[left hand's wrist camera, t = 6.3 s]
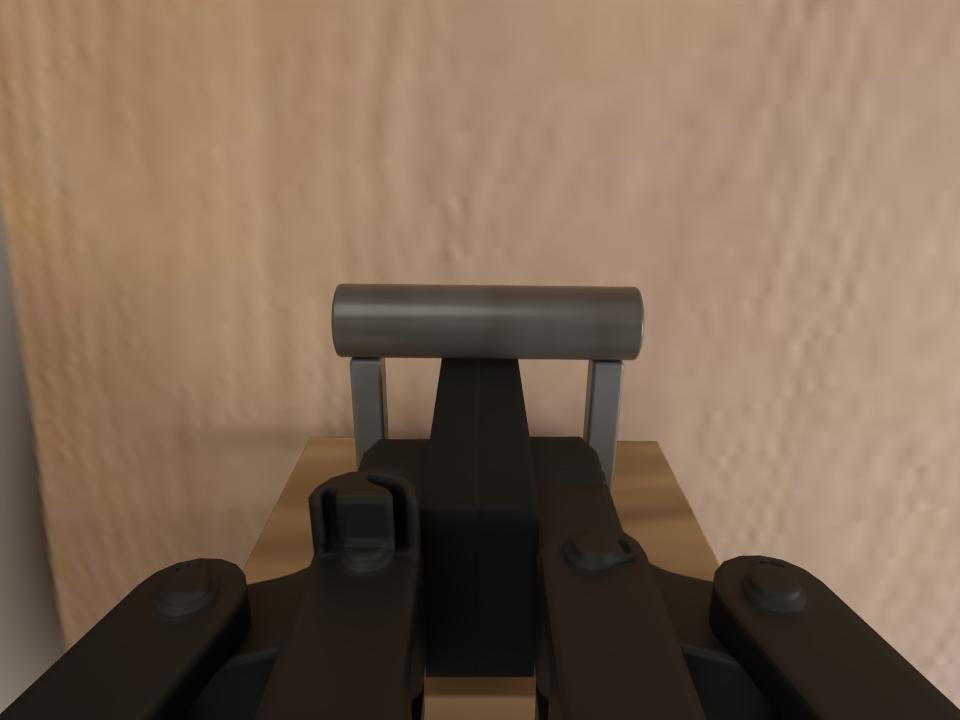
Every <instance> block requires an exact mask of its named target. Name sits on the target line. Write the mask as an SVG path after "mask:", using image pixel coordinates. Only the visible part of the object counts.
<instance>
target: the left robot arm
mask: <svg viewBox="0 0 960 720" xmlns="http://www.w3.org/2000/svg"><path fill="white" fill-rule="evenodd" d="M308 502H309V512H310V521H311V530H312V540H313V549H314V556H313V558H312V561H311V564H310V566H309V567H306V568H304V569H302V570H300V571H298V572H296V573H293V574H289V575H286V576H283V577H279V578H275V579H270V580H266V581H261V582H256V583H252V584H247V582H246V575H245V574H244V573H243V571H242V570H241V569H240V568H239V567H238V566H237V565H236V564H233V563H231V562H228V561H225V560H222V559H204V558H200V559H195V560H190V561H185V562H180V563H177V564H174V565H172V566H170V567H167V568H165V569H163V570H160V571H158V572H156V573H154V574H153V575H152V576H150V577H149V578H147V579H146V580H145V581H143V582H142V583H140V584H139V585H138V586H137V587H136V588H135V589H133V590H132V591H131V592H130V593H129V594H128V595H127V596H126V597H125V598H124V599H123V600H122V601H121V602H120V603H119V604H117V605H116V606H115V607H114V608H113V609H112V610H111V611H110V612H109V613H108V614H107V615H106V616H105V617H104V618H102V619H101V620H100V621H99V622H98V623H97V624H96V625H95V626H94V627H93V628H92V629H91V630H90V631H89V632H88V633H86V634H85V635H84V636H83V637H82V638H81V639H80V640H79V641H78V642H77V643H76V644H75V645H74V646H73V647H71V648H70V649H69V650H68V651H67V652H66V653H65V654H64V655H63V656H62V657H61V658H60V659H59V660H58V661H57V662H55V663H54V664H53V665H52V666H51V667H50V668H49V669H48V670H47V671H46V672H45V673H44V674H43V675H42V676H41V677H40V678H38V679H37V680H36V681H35V682H34V683H33V684H32V685H31V686H30V687H29V688H28V689H27V690H26V691H25V692H23V693H22V694H21V695H20V696H19V697H18V698H17V699H16V700H15V701H14V702H13V703H12V704H11V705H10V706H8V707H7V708H6V709H5V710H4V711H3V712H2V713H1V714H0V720H424V717H425V697H424V675H425V665H426V677H534V664H535V674H536V697H535V720H960V709H958V708H957V707H956V706H955V705H954V704H953V703H952V702H951V701H950V700H949V699H948V698H947V697H946V696H944V695H943V694H942V693H941V692H940V691H939V690H938V689H937V688H936V687H935V686H934V685H933V684H932V683H930V682H929V681H928V680H927V679H926V678H925V677H924V676H923V675H922V674H921V673H920V672H919V671H918V670H916V669H915V668H914V667H913V666H912V665H911V664H910V663H909V662H908V661H907V660H906V659H905V658H904V657H902V656H901V655H900V654H899V653H898V652H897V651H896V650H895V649H894V648H893V647H892V646H891V645H890V644H888V643H887V642H886V641H885V640H884V639H883V638H882V637H881V636H880V635H879V634H878V633H877V632H876V631H874V630H873V629H872V628H871V627H870V626H869V625H868V624H867V623H866V622H865V621H864V620H863V619H862V618H860V617H859V616H858V615H857V614H856V613H855V612H854V611H853V610H852V609H851V608H850V607H849V606H848V605H846V604H845V603H844V602H843V601H842V600H841V599H840V598H839V597H838V596H837V595H836V594H835V593H834V592H832V591H831V590H830V589H829V588H828V587H827V586H826V585H825V584H824V583H823V582H822V581H820V580H819V579H817V578H816V577H814V576H813V575H812V574H810V573H809V572H807V571H806V570H805V569H803V568H800V567H798V566H795V565H793V564H791V563H788V562H786V561H784V560H780V559H775V558H770V557H765V556H738V557H736V558H733V559H730V560H727V561H724V562H723V563H722V564H721V565H720V567H719V568H718V569H717V570H716V571H715V574H714V581H713V582H712V581H707V580H703V579H698V578H693V577H689V576H684V575H680V574H677V573H673V572H670V571H666V570H664V569H662V568H659V567H657V566H655V565H653V564H651V563H649V560H648V557H647V555H646V553H645V551H644V550H643V548H642V547H641V545H640V544H639V542H638V541H637V540H635V539H634V538H632V537H631V536H629V535H628V534H627V533H625V532H624V531H623V529H622V526H621V523H620V520H619V517H618V514H617V511H616V508H615V505H614V502H613V499H612V496H611V493H610V490H609V487H608V485H607V481H606V478H605V475H604V472H603V471H602V466H601V463H600V460H599V457H598V455H597V452H596V450H594V449H593V448H592V447H591V446H590V445H589V444H588V443H586V442H585V441H584V440H583V439H582V438H581V437H529V431H528V424H527V417H526V411H525V404H524V397H523V391H522V384H521V377H520V370H519V364H518V359H469V358H442V362H441V369H440V376H439V382H438V389H437V396H436V402H435V409H434V416H433V423H432V429H431V436H430V439H379V440H378V441H377V442H376V443H375V444H374V445H373V446H371V447H370V448H369V449H368V450H367V451H366V452H364V453H363V456H362V459H361V463H360V466H359V469H358V471H355V472H349V473H346V474H342V475H339V476H336V477H333V478H330V479H329V480H327V481H325V482H324V483H322V484H320V485H319V486H317V487H316V488H315V490H314V491H313V492H312V493H311V495H310V496H309V497H308Z"/></svg>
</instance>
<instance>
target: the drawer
mask: <svg viewBox="0 0 960 720" xmlns="http://www.w3.org/2000/svg"><path fill="white" fill-rule="evenodd" d="M643 333H644V308H643V301H642V297H641V293H640V291H639V289H638V288H636V287H597V286H506V285H415V284H340V285H338V286H337V288H336V290H335V293H334V298H333V304H332V336H333V343H334V347H335V350H336V353H337V355H338V356H340V357H352V359H351V361H350V372H351V388H352V403H353V418H354V434H355V438H320V437H312V438H310V439H309V441H308V443H307V445H306V447H305V449H304V451H303V453H302V455H301V457H300V459H299V461H298V463H297V465H296V467H295V469H294V471H293V472H292V474H291V476H290V478H289V480H288V482H287V484H286V486H285V488H284V490H283V492H282V494H281V496H280V498H279V500H278V502H277V504H276V506H275V508H274V510H273V512H272V514H271V516H270V518H269V520H268V522H267V524H266V526H265V528H264V530H263V532H262V533H261V535H260V537H259V539H258V541H257V543H256V545H255V547H254V549H253V551H252V553H251V555H250V557H249V559H248V561H247V563H246V565H245V567H244V569H243V573H244V574H245V575H246V582H247V584H252V583H256V582H261V581H266V580H270V579H275V578H279V577H283V576H286V575H289V574H293V573H296V572H298V571H300V570H302V569H304V568H306V567H309V566H310V564H311V561H312V558H313V556H314V549H313V540H312V530H311V521H310V512H309V502H308V497H309V496H310V495H311V493H312V492H313V491H314V490H315V488H316V487H317V486H319V485H320V484H322V483H324V482H325V481H327V480H329V479H330V478H333V477H336V476H339V475H342V474H346V473H349V472H355V471H358V469H359V466H360V463H361V459H362V456H363V453H364V452H366V451H367V450H368V449H369V448H370V447H371V446H373V445H374V444H375V443H376V442H377V441H378V440H379V439H410V438H388V416H387V394H386V371H385V358H469V359H560V360H589V364H588V377H587V390H586V404H585V417H584V431H583V440H584V441H585V442H586V443H588V444H589V445H590V446H591V447H592V448H593V449H594V450H596V452H597V455H598V457H599V460H600V463H601V466H602V471H603V472H604V475H605V478H606V481H607V485H608V487H609V490H610V493H611V496H612V499H613V502H614V505H615V508H616V511H617V514H618V517H619V520H620V523H621V526H622V529H623V531H624V532H625V533H627V534H628V535H629V536H631V537H632V538H634V539H635V540H637V541H638V542H639V544H640V545H641V547H642V548H643V550H644V551H645V553H646V555H647V557H648V560H649V563H651V564H653V565H655V566H657V567H659V568H662V569H664V570H666V571H670V572H673V573H677V574H680V575H684V576H689V577H693V578H698V579H703V580H707V581H712V582H713V581H714V574H715V571H716V570H717V569H718V568H719V567H720V564H719V562H718V560H717V558H716V556H715V554H714V552H713V550H712V548H711V546H710V544H709V542H708V540H707V538H706V536H705V534H704V532H703V530H702V528H701V526H700V524H699V522H698V520H697V518H696V516H695V514H694V512H693V510H692V509H691V507H690V505H689V503H688V501H687V499H686V497H685V495H684V493H683V491H682V489H681V487H680V485H679V483H678V481H677V479H676V477H675V475H674V473H673V471H672V469H671V467H670V465H669V463H668V461H667V459H666V457H665V455H664V453H663V451H662V449H661V447H660V445H659V443H658V442H656V441H617V435H618V425H619V414H620V404H621V393H622V383H623V372H624V364H623V362H622V360H635V359H636V358H637V357H638V355H639V353H640V350H641V346H642V341H643ZM424 697H425V717H424V720H535V697H536V674H535V664H534V677H426V665H425V675H424Z"/></svg>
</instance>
